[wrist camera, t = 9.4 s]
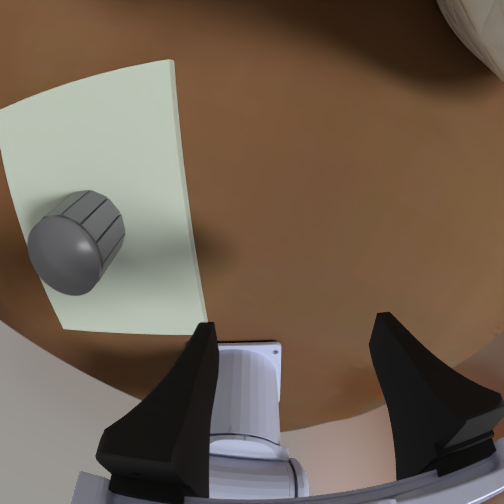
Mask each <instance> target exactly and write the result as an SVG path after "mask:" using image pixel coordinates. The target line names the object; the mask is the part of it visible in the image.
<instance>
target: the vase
mask: <svg viewBox="0 0 504 504" xmlns="http://www.w3.org/2000/svg"><path fill="white" fill-rule="evenodd" d="M436 2H437V4H438V6H439V8H440V10H441V12H442V14H443V16H444V18H445V20H446V21H447V23H448V25H449V26H450V27H451V29H452V30H453V32H454V33H455V34H456V36H457V37H458V38H459V39H460V41H461V42H462V43H463V44H464V45H465V46H466V47H467V48H468V49H469V50H470V51H471V52H472V53H473V54H474V55H475V56H476V57H477V58H479V59H480V60H481V61H482V62H483V63H484V64H485V65H486V66H487V67H488V68H489V69H490V70H491V71H492V72H493V73H494V74H495V75H496V76H497V77H498V78H499V79H500V80H501V81H502V82H503V83H504V0H436Z"/></svg>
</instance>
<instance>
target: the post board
mask: <svg viewBox="0 0 504 504" xmlns="http://www.w3.org/2000/svg"><path fill="white" fill-rule="evenodd" d="M0 149H1V154H2V159H3V164H4V168H5V172H6V177H7V181H8V185H9V188H10V192H11V196H12V200H13V203H14V206H15V210H16V213H17V216H18V220H19V223H20V226H21V229H22V232H23V235H24V238H25V241H26V243H27V242H28V237H29V234H30V231H31V230H32V228H33V227H34V226H35V225H36V224H37V223H38V222H39V221H40V220H41V219H42V218H43V217H44V216H45V215H46V214H47V213H49V212H50V211H51V210H52V209H54V208H55V207H56V206H57V205H59V204H60V203H61V202H62V201H64V200H65V199H66V198H67V197H69V196H70V195H71V194H73V193H74V192H78V191H85V190H90V191H91V190H93V191H95V192H97V193H99V194H102V195H104V196H106V197H107V199H110V200H111V201H112V203H113V204H114V205H115V206H116V208H117V209H118V210H119V211H120V214H122V219H123V223H124V227H125V237H124V240H123V243H122V247H121V249H120V250H119V252H118V253H117V255H116V256H115V258H114V259H113V261H112V262H111V264H110V265H109V267H108V268H107V270H106V271H105V273H104V274H103V276H102V278H101V279H100V281H99V282H98V283H96V285H95V286H94V288H93V289H92V290H91V291H90V292H88V293H86V294H84V295H80V296H70V295H66V294H63V293H60V292H58V291H56V290H54V289H53V288H51V287H50V286H49V285H47V284H46V283H45V282H44V281H43V280H42V279H41V278H40V279H41V282H42V284H43V286H44V289H45V291H46V293H47V295H48V298H49V300H50V302H51V304H52V306H53V308H54V310H55V313H56V315H57V317H58V319H59V321H60V323H61V325H62V327H63V329H70V330H83V331H96V332H113V333H133V334H164V335H193V333H194V331H195V329H196V327H197V325H198V324H199V323H200V322H208V320H207V314H206V309H205V303H204V298H203V292H202V286H201V280H200V274H199V268H198V262H197V255H196V249H195V243H194V236H193V229H192V222H191V215H190V208H189V201H188V193H187V185H186V177H185V169H184V161H183V152H182V143H181V134H180V124H179V114H178V103H177V92H176V80H175V66H174V60H170V59H168V60H162V61H156V62H151V63H146V64H141V65H136V66H131V67H127V68H122V69H118V70H114V71H110V72H106V73H102V74H98V75H95V76H91V77H88V78H84V79H81V80H77V81H74V82H71V83H68V84H65V85H62V86H59V87H56V88H53V89H50V90H47V91H45V92H42V93H39V94H37V95H34V96H31V97H29V98H26V99H24V100H22V101H19V102H17V103H14V104H12V105H10V106H8V107H5V108H3V109H1V110H0ZM107 199H106V200H107ZM120 214H119V215H120ZM39 277H40V276H39Z"/></svg>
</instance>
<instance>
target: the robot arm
mask: <svg viewBox="0 0 504 504" xmlns="http://www.w3.org/2000/svg"><path fill="white" fill-rule="evenodd" d="M369 348H370V353H371V358H372V362H373V366H374V369H375V371H376V374H377V377H378V380H379V383H380V386H381V389H382V392H383V395H384V398H385V401H386V404H387V407H388V411H389V416H390V422H391V427H392V433H393V440H394V448H395V458H396V479H397V480H396V481H394V482H390V483H386V484H382V485H377V486H373V487H368V488H363V489H357V490H352V491H346V492H340V493H333V494H326V495H317V496H309V486H308V479H307V475H306V472H305V470H304V468H303V467H302V466H301V464H300V463H299V462H298V461H297V460H296V459H294V458H289V454H288V447H284V446H281V445H280V444H281V443H280V425H279V407H278V402H279V401H280V376H281V344H280V343H279V342H255V343H218V342H217V337H216V331H215V325H214V322H200V323H199V324H198V325H197V327H196V329H195V331H194V333H193V335H192V337H191V339H190V340H189V342H188V344H187V345H186V347H185V349H184V350H183V352H182V353H181V355H180V356H179V358H178V359H177V361H176V362H175V364H174V365H173V366H172V368H171V369H170V370H169V372H168V373H167V374H166V376H165V377H164V378H163V379H162V381H161V382H160V383H159V384H158V385H157V386H156V387H155V389H154V390H153V391H152V392H151V393H150V394H149V395H148V396H147V397H146V398H145V399H144V400H143V401H142V402H140V403H139V404H138V405H137V406H136V407H135V408H133V409H132V410H131V411H130V412H129V413H128V414H126V415H125V416H124V417H122V418H121V419H119V420H118V421H116V422H115V423H114V424H112V425H111V426H109V427H108V428H106V429H105V430H104V433H103V435H102V437H101V439H100V442H99V446H98V449H97V453H96V459H97V461H98V462H99V463H100V464H101V465H102V466H103V467H104V468H105V469H107V470H108V471H109V472H110V473H111V474H112V475H111V480H109V479H106V478H104V477H101V476H97V475H93V474H90V473H86V472H82V471H81V472H79V476H78V479H77V483H76V487H75V490H74V495H73V498H72V502H71V504H480V503H482V502H484V501H486V500H487V499H489V498H491V497H493V496H495V495H497V494H498V493H500V492H502V491H504V437H502V438H500V439H498V440H497V441H495V442H494V443H493V440H492V437H494V432H493V430H492V429H493V428H494V427H495V426H496V425H497V424H498V423H499V422H500V421H501V419H502V418H503V417H504V400H503V398H502V396H501V394H500V393H498V392H495V391H493V390H490V389H488V388H485V387H483V386H481V385H479V384H477V383H475V382H473V381H471V380H469V379H467V378H466V377H464V376H462V375H461V374H459V373H458V372H456V371H455V370H453V369H452V368H450V367H449V366H447V365H446V364H445V363H443V362H442V361H441V360H439V359H438V358H437V357H436V356H435V355H433V354H432V353H431V352H430V351H429V350H428V349H427V348H425V347H424V346H423V345H422V344H421V343H420V342H419V341H418V340H417V339H416V338H415V337H414V336H413V335H412V334H411V333H410V332H409V331H408V330H407V329H406V328H405V327H404V326H403V325H402V324H401V323H400V322H399V321H398V320H397V319H396V318H395V317H394V316H393V315H392V314H391V313H390V312H383V313H377V316H376V320H375V324H374V327H373V331H372V335H371V338H370V342H369ZM275 350H277V351H275Z"/></svg>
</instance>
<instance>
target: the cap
mask: <svg viewBox="0 0 504 504" xmlns="http://www.w3.org/2000/svg"><path fill="white" fill-rule="evenodd" d="M106 199H107V197H106V196H104V195H102V194H99V193H97V192H95V191H93V190H91V191H90V190H85V191H78V192H74V193H73V194H71V195H70V196H69V197H67V198H66V199H65V200H64V201H62V202H61V203H60V204H59V205H57V206H56V207H55V208H54V209H52V210H51V211H50V212H49V213H47V214H46V215H45V216H44V217H43V218H42V219H41V220H40V221H39V222H38V223H37V224H36V225H35V226H34V227H33V228H32V230H31V231H30V234H29V237H28V242H27V248H28V254H29V258H30V261H31V263H32V266H33V267H34V269H35V271H36V272H37V274H38V275H39V276H40V278H41V279H42V280H43V281H44V282H45V283H46V284H47V285H49V286H50V287H51V288H53V289H54V290H56V291H58V292H60V293H63V294H66V295H70V296H80V295H84V294H86V293H88V292H90V291H91V290H92V289H93V288H94V286H95V285H96V283H98V282H99V281H100V279H101V278H102V276H103V274H104V273H105V271H106V270H107V268H108V267H109V265H110V264H111V262H112V261H113V259H114V258H115V256H116V255H117V253H118V252H119V250H120V249H121V247H122V243H123V240H124V237H125V227H124V223H123V219H122V214H120V211H119V210H118V209H117V208H116V206H115V205H114V204H113V203H112V201H111V200H110V199H107V200H106ZM119 214H120V215H119Z"/></svg>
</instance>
